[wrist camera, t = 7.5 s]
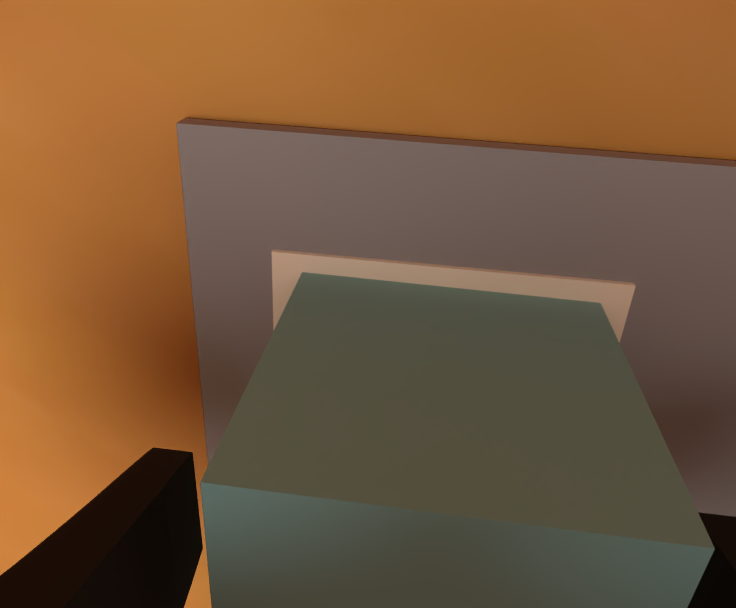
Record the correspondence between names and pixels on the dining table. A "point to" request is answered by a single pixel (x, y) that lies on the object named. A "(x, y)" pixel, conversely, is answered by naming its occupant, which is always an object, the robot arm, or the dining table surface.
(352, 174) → the tray
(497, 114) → the dining table surface
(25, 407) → the dining table surface
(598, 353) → the teal cube
